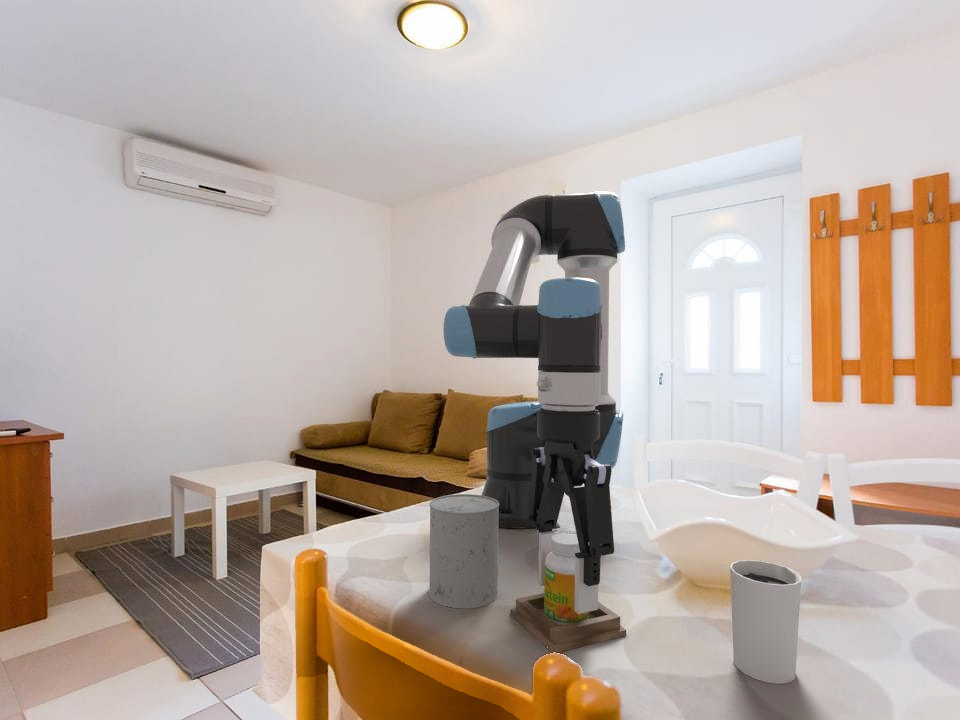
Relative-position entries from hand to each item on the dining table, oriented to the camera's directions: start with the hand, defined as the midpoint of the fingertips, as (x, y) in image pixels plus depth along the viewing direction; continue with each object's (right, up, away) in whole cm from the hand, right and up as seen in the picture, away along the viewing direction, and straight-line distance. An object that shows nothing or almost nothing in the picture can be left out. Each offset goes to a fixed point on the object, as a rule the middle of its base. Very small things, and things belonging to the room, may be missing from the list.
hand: (566, 595), depth 65 cm
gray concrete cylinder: (-13, -4, +8) cm, 16 cm away
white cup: (+19, -4, -9) cm, 22 cm away
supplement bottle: (0, -3, 0) cm, 3 cm away
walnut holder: (0, -3, 0) cm, 3 cm away
